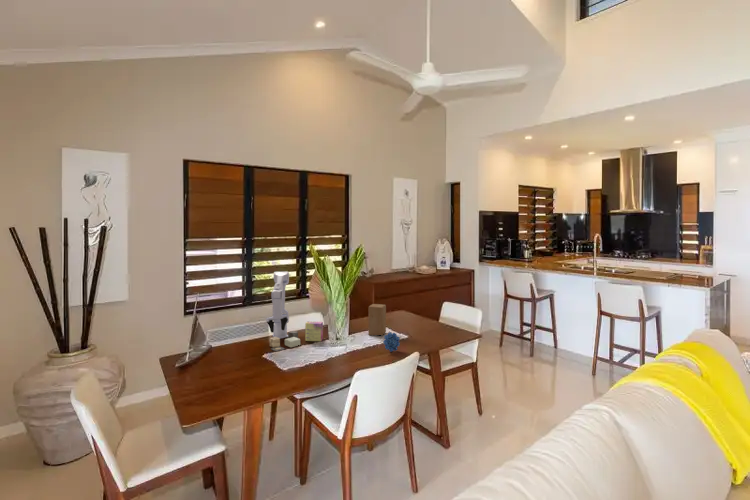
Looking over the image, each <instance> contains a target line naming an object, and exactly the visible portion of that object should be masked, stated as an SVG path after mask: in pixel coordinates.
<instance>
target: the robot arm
mask: <svg viewBox="0 0 750 500" xmlns="http://www.w3.org/2000/svg"><path fill="white" fill-rule="evenodd" d="M273 281H274V285H273V290H272V291H271V295H270V296H271V303H272V316H270V317H266V318H265V322H266V323H267V324H268V327H269V330H270V333H272V334H273V335H272V338H273V337H278V338H280V340H281V339H284V338H285V339H286V338H288V327H287V326H288V323H289V321H290V313H289V311H288V310H287V309H286V286H287V285H289V282H290V273H289V271H274V272H273Z"/></svg>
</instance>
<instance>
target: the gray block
mask: <svg viewBox="0 0 750 500" xmlns="http://www.w3.org/2000/svg"><path fill="white" fill-rule="evenodd" d="M287 335H288V337H287V339H288V338H292V337H296V338H298V339H299V331H296V330H291V331H289V332H288V331H287Z"/></svg>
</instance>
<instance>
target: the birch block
mask: <svg viewBox="0 0 750 500" xmlns="http://www.w3.org/2000/svg"><path fill="white" fill-rule="evenodd" d="M269 347H271V348H276V347H281V339H280V338H278V337H273V336H272V337H269Z"/></svg>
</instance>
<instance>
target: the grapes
mask: <svg viewBox="0 0 750 500" xmlns="http://www.w3.org/2000/svg"><path fill="white" fill-rule="evenodd" d="M383 336H384V340H383V343H382V344H383V345H384V348H385V350H388V351H389V352H391V353H393V352H394V351H397V350H398V347H400V345H401V344H400V343H401V342H400V337H399V336H398V335H397V332H391V331H389V332H388V333H387V334H384V335H383Z"/></svg>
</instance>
